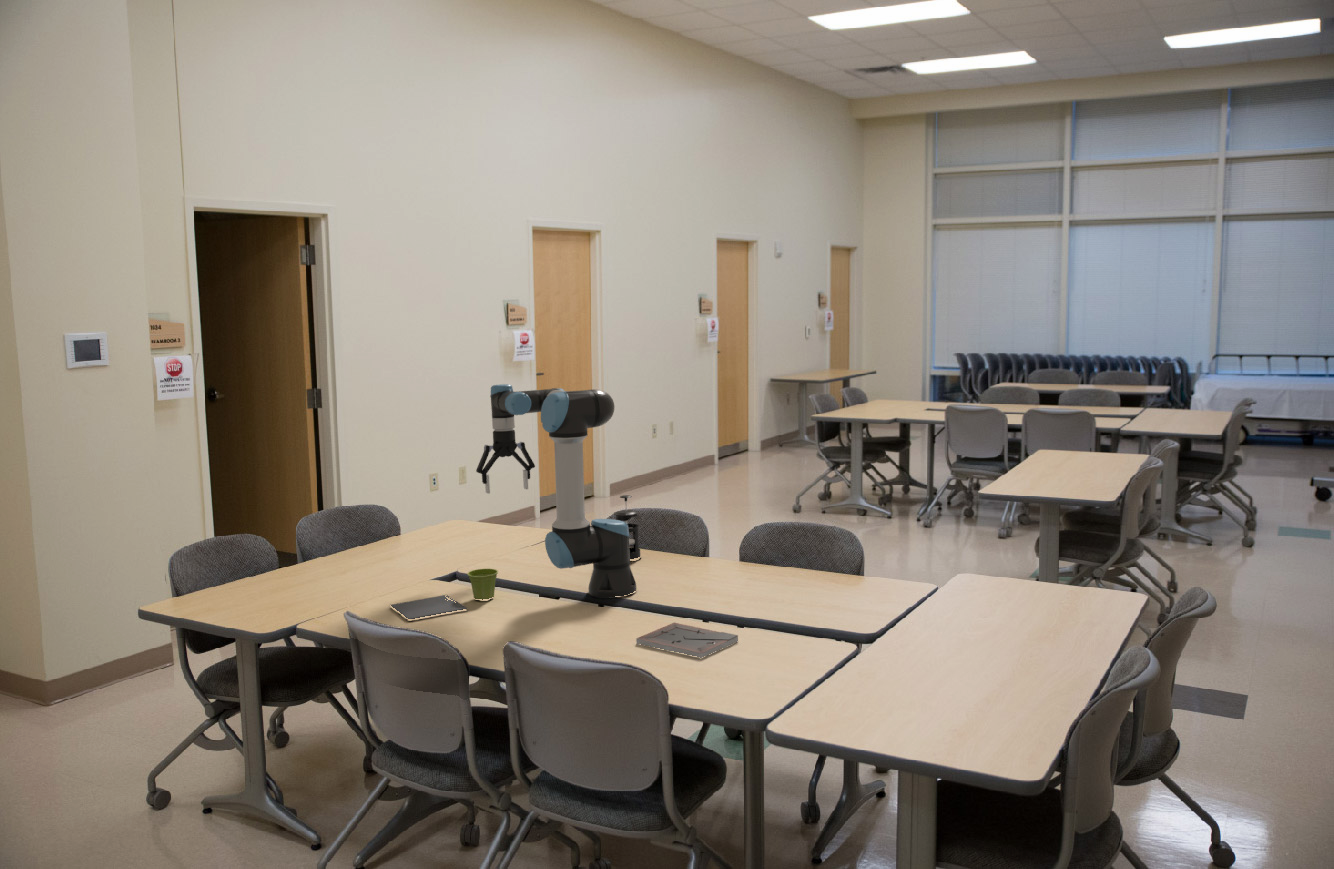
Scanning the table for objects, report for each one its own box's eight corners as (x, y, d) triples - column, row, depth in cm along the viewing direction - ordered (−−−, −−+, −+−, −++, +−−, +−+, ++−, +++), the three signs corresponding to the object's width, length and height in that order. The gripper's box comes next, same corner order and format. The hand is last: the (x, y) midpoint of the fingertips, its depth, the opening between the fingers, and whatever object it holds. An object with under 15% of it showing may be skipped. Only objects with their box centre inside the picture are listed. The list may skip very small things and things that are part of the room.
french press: (648, 558, 374) (645, 494, 371) (630, 563, 366) (628, 499, 363) (623, 554, 381) (620, 492, 378) (605, 559, 374) (603, 496, 371)
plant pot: (502, 601, 325) (500, 573, 324) (472, 605, 322) (470, 577, 321) (495, 593, 334) (494, 567, 333) (466, 597, 330) (464, 570, 329)
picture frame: (738, 644, 279) (674, 630, 293) (738, 635, 279) (674, 621, 292) (701, 661, 267) (636, 646, 280) (701, 652, 266) (636, 637, 280)
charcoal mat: (467, 611, 315) (467, 607, 315) (408, 622, 306) (408, 618, 306) (446, 597, 331) (446, 594, 330) (390, 607, 321) (390, 604, 321)
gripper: (535, 425, 366) (538, 485, 369) (465, 431, 356) (468, 493, 359) (542, 427, 360) (545, 488, 362) (470, 433, 349) (474, 496, 352)
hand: (507, 490), depth 360 cm, fingers open, 13 cm apart
